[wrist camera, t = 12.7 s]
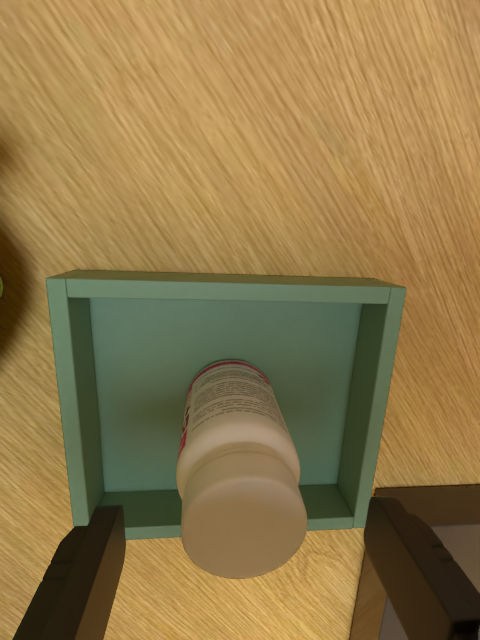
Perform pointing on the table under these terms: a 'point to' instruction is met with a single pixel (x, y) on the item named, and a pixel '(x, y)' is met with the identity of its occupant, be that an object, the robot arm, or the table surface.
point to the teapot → (1, 287)
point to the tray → (203, 350)
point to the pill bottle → (238, 475)
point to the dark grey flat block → (451, 528)
